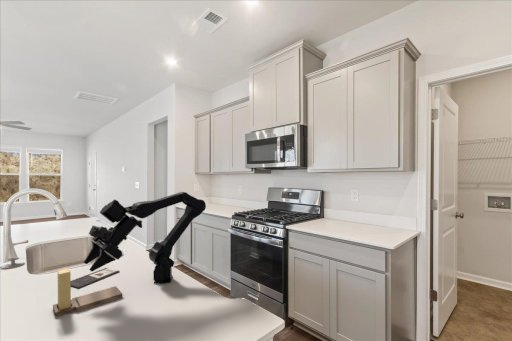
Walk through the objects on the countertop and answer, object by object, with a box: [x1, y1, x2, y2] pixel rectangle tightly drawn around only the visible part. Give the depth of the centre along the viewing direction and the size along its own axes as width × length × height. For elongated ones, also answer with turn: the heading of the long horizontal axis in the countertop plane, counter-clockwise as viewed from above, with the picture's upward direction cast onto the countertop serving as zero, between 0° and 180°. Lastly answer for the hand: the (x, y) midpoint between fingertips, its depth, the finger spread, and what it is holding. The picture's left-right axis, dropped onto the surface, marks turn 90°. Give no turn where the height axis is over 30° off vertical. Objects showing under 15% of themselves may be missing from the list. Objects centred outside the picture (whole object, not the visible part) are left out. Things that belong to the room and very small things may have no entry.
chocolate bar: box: [71, 267, 120, 290], centre depth 113 cm, size 9×1×18 cm
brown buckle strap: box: [52, 285, 123, 318], centre depth 92 cm, size 19×8×2 cm, turn 133°
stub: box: [57, 267, 72, 311], centre depth 87 cm, size 3×4×13 cm
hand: (87, 266), depth 92 cm, fingers open, 9 cm apart
